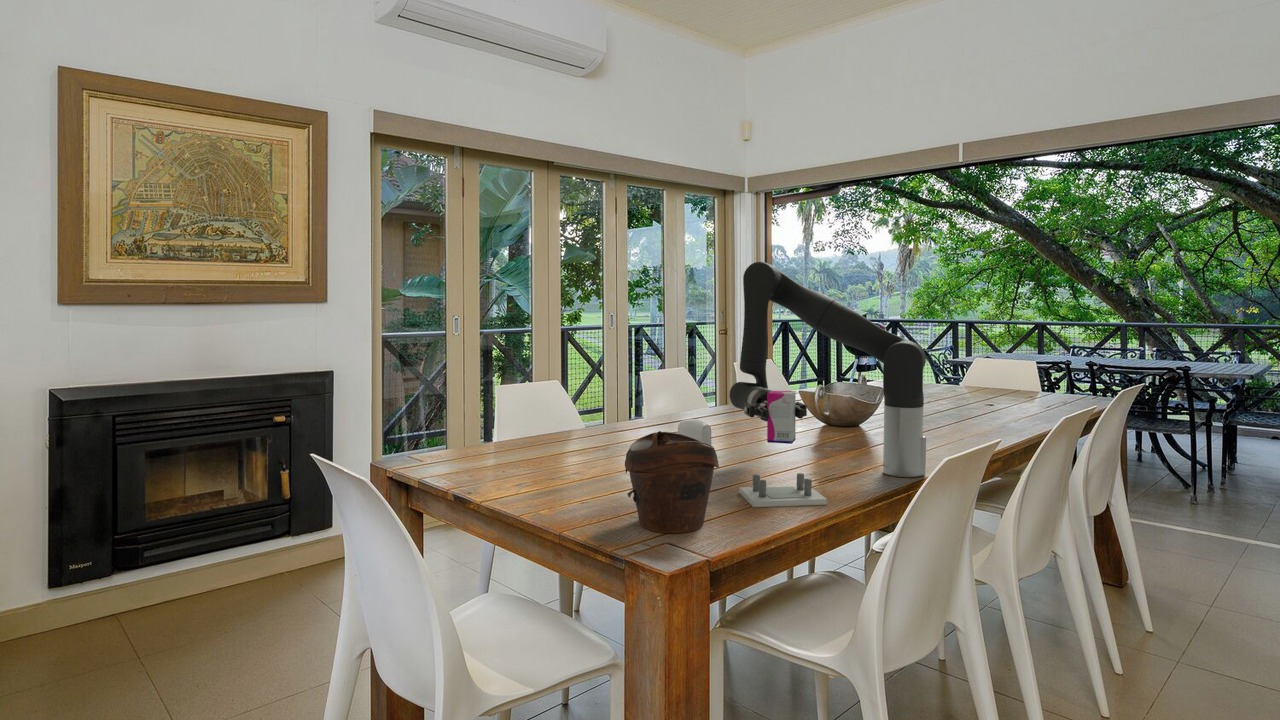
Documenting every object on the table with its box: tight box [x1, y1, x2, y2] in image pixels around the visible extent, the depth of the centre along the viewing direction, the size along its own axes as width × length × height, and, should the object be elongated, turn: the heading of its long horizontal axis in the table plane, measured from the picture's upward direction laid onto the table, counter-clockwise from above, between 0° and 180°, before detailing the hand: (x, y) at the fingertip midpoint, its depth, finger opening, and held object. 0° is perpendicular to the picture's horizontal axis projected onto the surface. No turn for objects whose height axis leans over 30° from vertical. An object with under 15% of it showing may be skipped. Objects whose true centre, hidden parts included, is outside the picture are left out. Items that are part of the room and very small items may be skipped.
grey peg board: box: [739, 472, 828, 508], centre depth 159 cm, size 16×12×5 cm
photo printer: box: [677, 418, 712, 446], centre depth 192 cm, size 10×4×12 cm, turn 39°
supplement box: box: [766, 390, 797, 445], centre depth 166 cm, size 6×6×12 cm
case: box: [624, 430, 720, 534], centre depth 141 cm, size 18×20×18 cm
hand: (784, 414), depth 164 cm, fingers closed on supplement box, 7 cm apart
